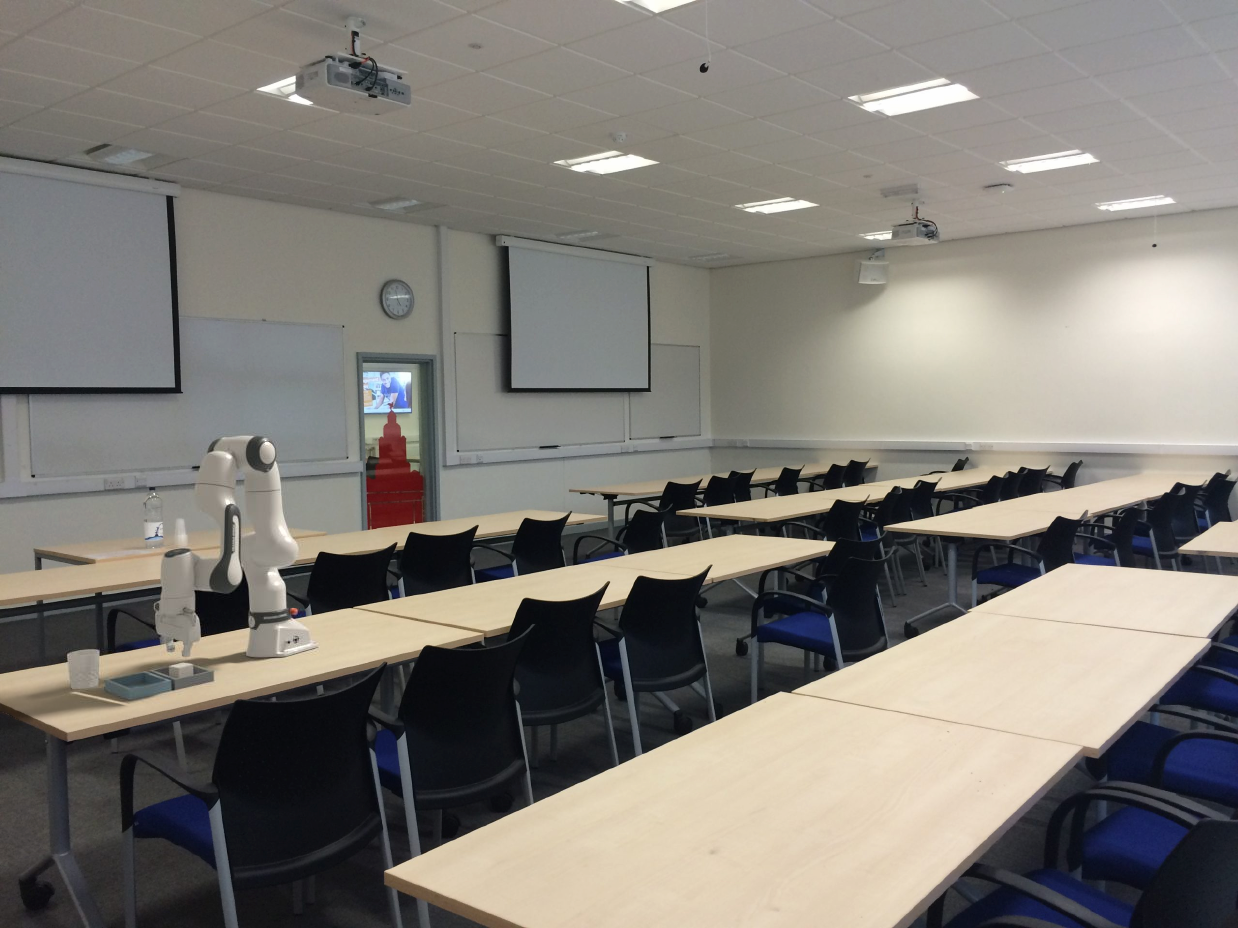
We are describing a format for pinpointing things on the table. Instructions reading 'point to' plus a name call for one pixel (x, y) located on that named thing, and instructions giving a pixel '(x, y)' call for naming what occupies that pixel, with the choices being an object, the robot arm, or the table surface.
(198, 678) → the tray
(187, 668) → the white cube
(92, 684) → the white cup
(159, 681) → the bin
